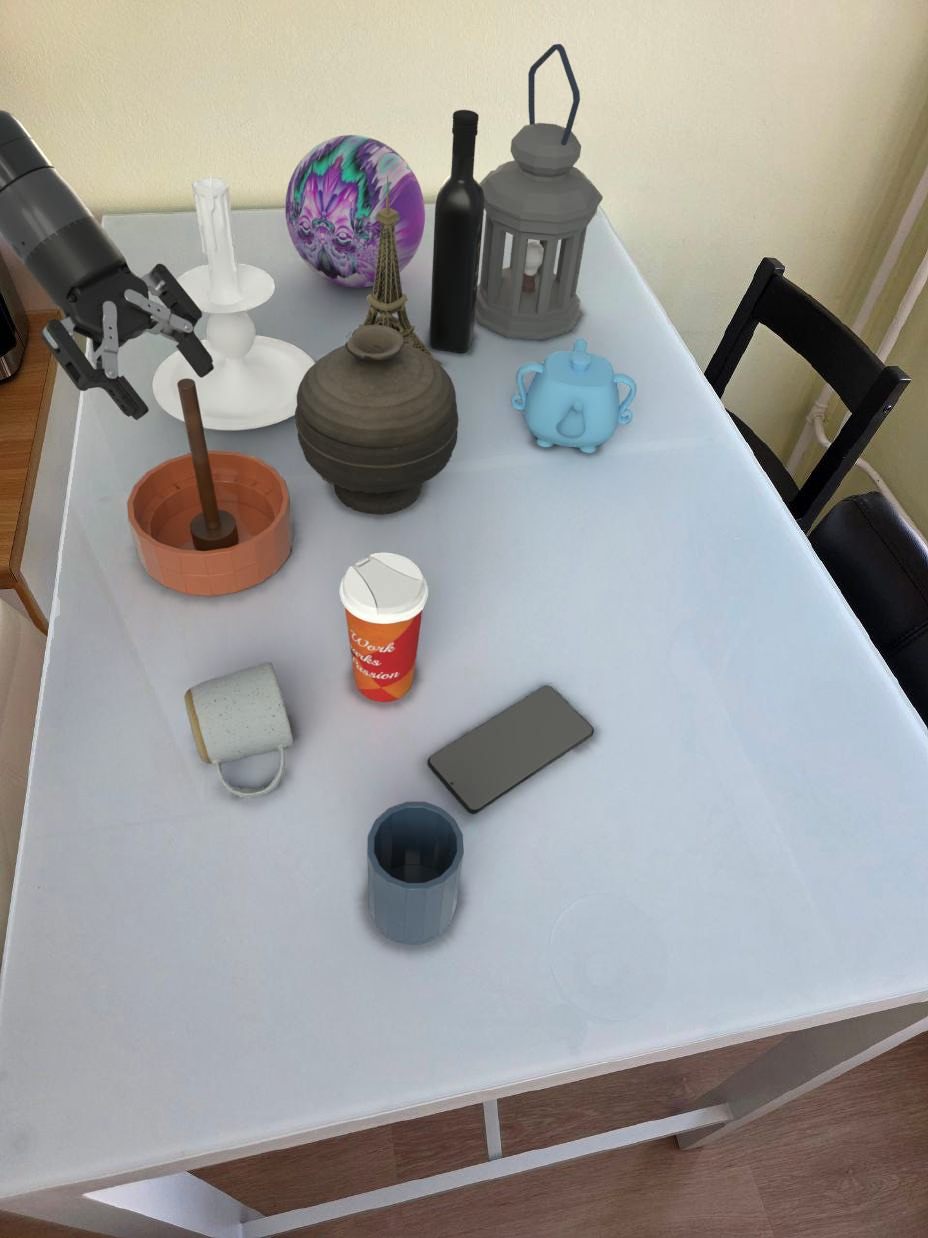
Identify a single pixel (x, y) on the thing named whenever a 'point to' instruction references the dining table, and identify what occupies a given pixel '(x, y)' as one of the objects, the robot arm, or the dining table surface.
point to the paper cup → (383, 623)
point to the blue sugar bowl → (573, 399)
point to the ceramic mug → (239, 721)
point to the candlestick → (231, 333)
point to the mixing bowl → (174, 501)
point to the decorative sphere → (352, 208)
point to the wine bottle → (457, 243)
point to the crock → (414, 871)
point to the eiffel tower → (390, 284)
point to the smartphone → (509, 749)
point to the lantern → (536, 227)
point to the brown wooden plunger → (204, 480)
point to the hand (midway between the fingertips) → (176, 393)
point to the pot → (377, 420)
